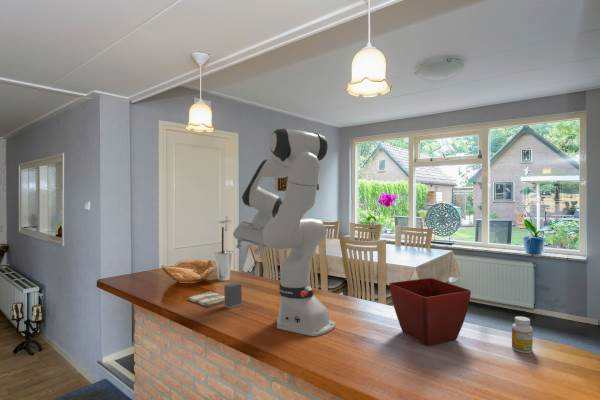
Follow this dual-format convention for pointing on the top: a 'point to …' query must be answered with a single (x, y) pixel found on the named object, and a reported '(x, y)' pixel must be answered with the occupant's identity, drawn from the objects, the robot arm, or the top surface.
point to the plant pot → (430, 309)
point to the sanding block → (233, 295)
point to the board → (208, 299)
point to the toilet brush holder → (223, 262)
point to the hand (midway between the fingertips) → (246, 250)
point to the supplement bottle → (522, 335)
